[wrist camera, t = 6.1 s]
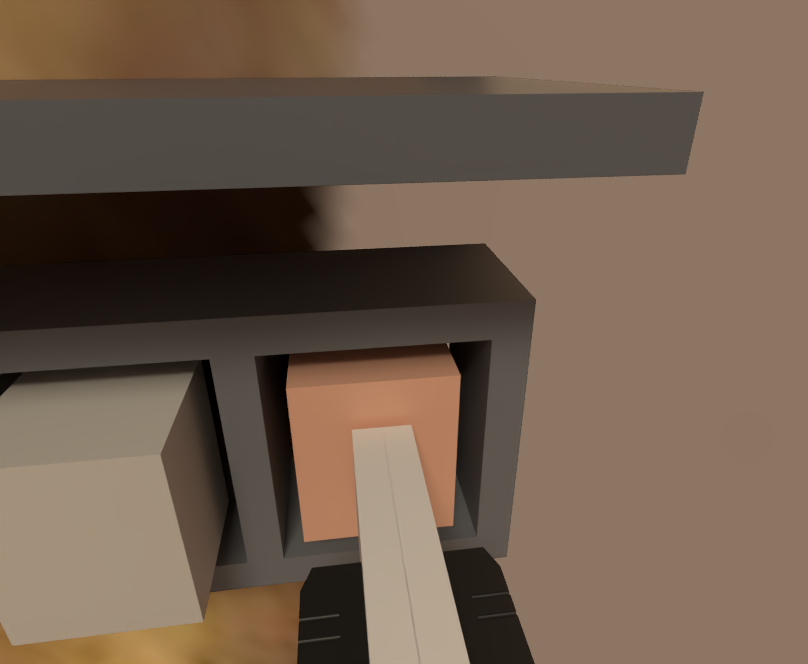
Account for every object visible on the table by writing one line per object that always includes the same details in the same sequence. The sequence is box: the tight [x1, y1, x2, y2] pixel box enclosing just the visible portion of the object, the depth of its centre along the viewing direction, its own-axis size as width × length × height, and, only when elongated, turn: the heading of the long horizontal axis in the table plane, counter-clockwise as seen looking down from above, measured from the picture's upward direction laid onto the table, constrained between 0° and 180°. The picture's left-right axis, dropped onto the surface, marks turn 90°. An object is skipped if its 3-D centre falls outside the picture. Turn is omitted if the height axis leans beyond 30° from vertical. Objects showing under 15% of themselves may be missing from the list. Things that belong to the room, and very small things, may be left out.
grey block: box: [0, 360, 229, 646], centre depth 13 cm, size 4×5×4 cm
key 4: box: [286, 343, 461, 542], centre depth 16 cm, size 4×5×4 cm
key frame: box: [0, 244, 536, 592], centre depth 15 cm, size 27×9×4 cm, turn 90°
